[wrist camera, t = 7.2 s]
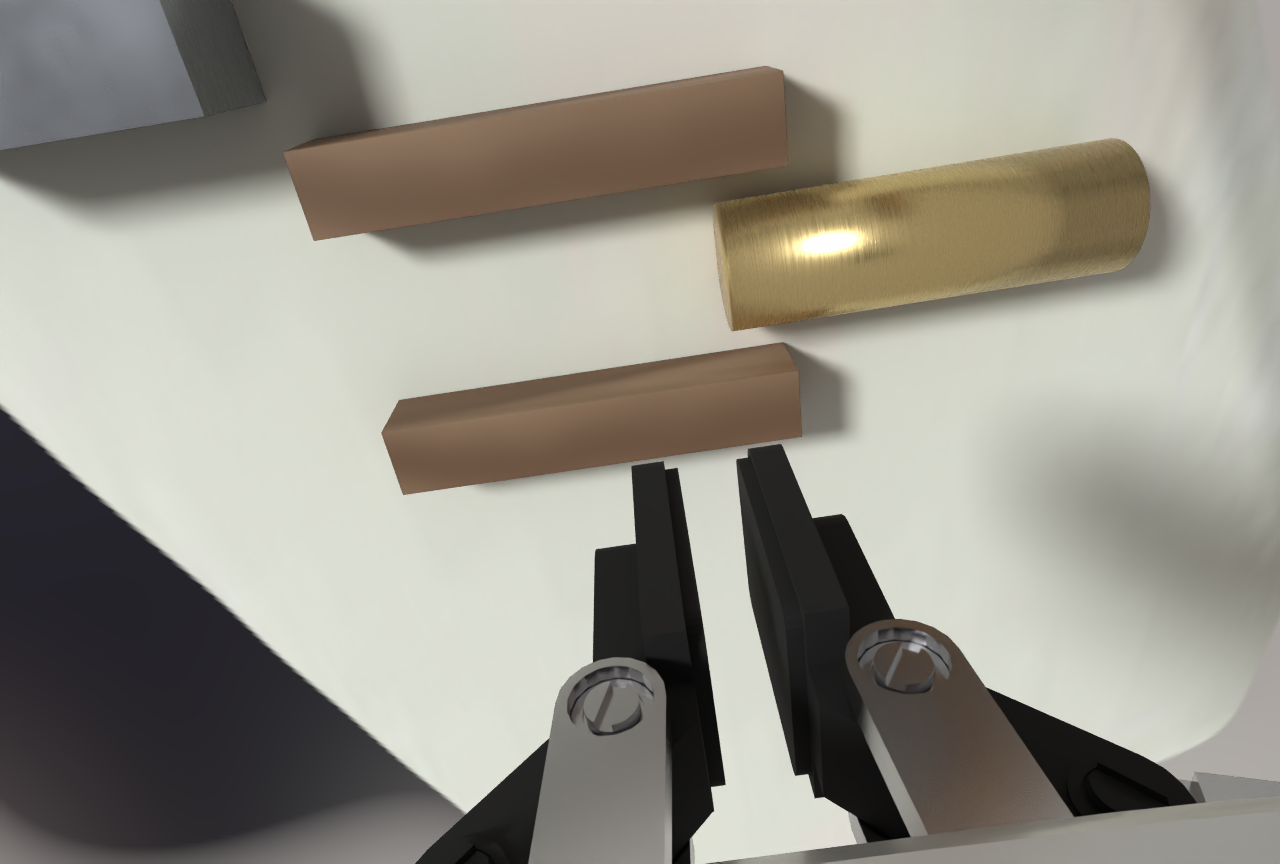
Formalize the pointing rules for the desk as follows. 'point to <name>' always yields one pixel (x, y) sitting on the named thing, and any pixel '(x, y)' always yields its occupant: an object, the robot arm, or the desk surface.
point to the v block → (117, 66)
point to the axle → (931, 233)
